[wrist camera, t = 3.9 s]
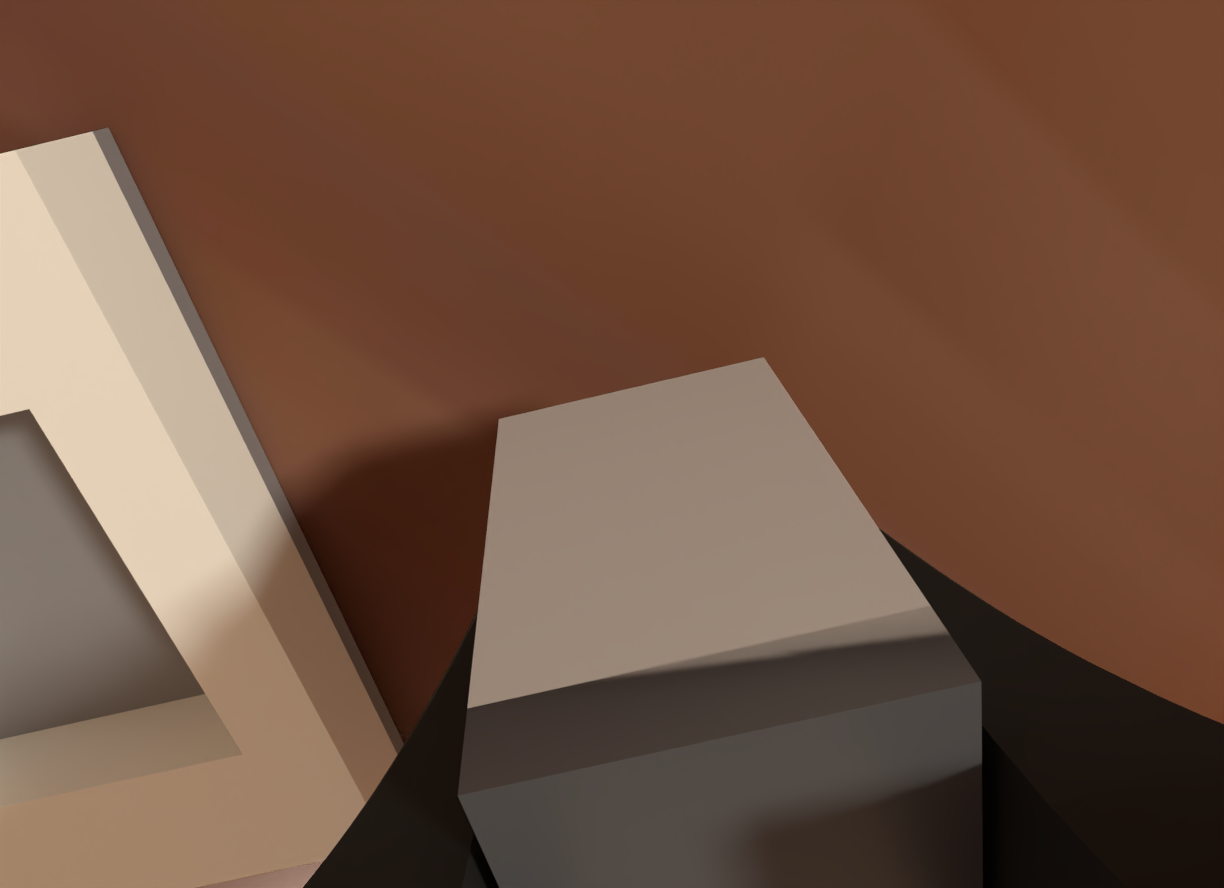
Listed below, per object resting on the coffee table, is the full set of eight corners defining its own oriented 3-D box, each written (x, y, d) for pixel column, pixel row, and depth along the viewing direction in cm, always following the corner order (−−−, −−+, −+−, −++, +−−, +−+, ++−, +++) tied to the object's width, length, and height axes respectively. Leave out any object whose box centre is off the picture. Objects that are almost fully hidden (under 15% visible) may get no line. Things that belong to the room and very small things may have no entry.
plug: (803, 641, 13) (984, 1066, 8) (584, 690, 13) (614, 1141, 8) (763, 357, 11) (982, 681, 5) (499, 419, 11) (457, 795, 6)
